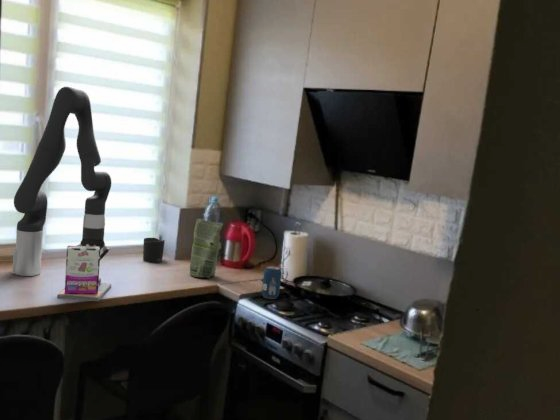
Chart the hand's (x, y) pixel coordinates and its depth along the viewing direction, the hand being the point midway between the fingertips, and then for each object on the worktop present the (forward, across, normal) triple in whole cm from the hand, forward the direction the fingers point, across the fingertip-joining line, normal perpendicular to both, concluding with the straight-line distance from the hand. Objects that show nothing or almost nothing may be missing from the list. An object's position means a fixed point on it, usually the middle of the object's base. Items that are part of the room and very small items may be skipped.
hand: (90, 271), depth 210 cm
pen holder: (+6, +15, +52) cm, 55 cm away
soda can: (+7, +68, +9) cm, 69 cm away
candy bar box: (+5, 0, -11) cm, 12 cm away
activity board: (+6, 0, -6) cm, 8 cm away
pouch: (+7, +40, +32) cm, 52 cm away
